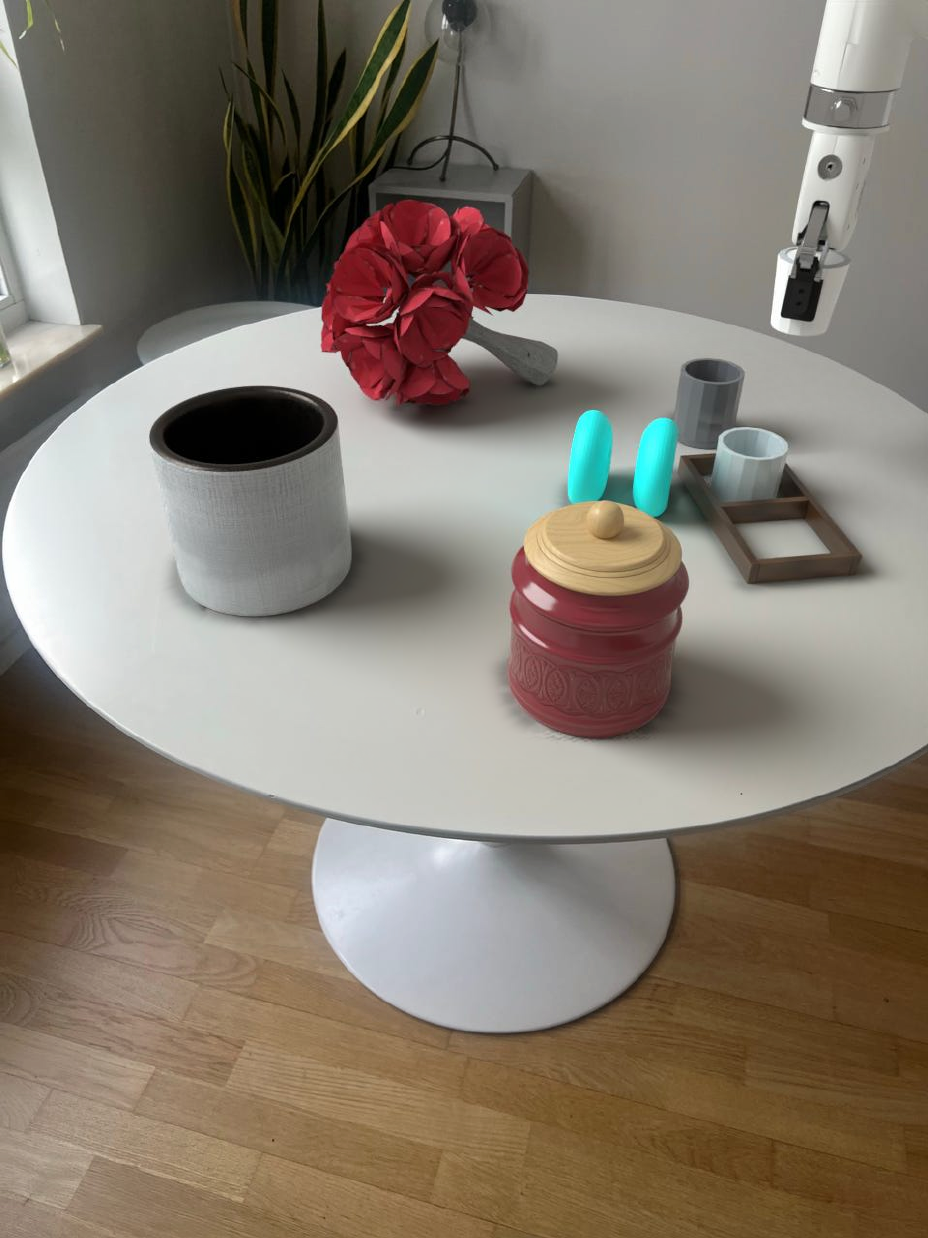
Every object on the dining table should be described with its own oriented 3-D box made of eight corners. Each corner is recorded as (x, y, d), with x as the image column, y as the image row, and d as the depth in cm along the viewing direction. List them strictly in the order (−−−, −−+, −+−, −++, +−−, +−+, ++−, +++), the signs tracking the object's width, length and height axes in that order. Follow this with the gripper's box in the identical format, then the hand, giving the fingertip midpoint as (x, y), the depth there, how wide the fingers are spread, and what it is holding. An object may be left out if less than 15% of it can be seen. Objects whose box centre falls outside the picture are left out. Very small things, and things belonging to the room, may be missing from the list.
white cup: (833, 316, 97) (850, 247, 93) (834, 341, 92) (853, 270, 88) (765, 310, 99) (779, 242, 94) (763, 334, 94) (777, 263, 89)
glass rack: (768, 473, 103) (774, 448, 101) (853, 582, 87) (862, 555, 85) (676, 480, 102) (680, 455, 100) (745, 592, 86) (751, 564, 84)
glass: (758, 483, 101) (772, 425, 97) (784, 517, 96) (799, 456, 92) (698, 488, 100) (709, 429, 96) (720, 522, 95) (733, 461, 91)
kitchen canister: (667, 647, 80) (699, 465, 69) (667, 757, 70) (705, 566, 59) (516, 631, 82) (524, 451, 71) (496, 737, 72) (501, 547, 61)
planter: (149, 609, 84) (107, 455, 74) (229, 516, 96) (203, 374, 86) (314, 639, 81) (293, 483, 71) (376, 539, 93) (366, 394, 83)
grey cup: (719, 419, 113) (731, 356, 108) (740, 446, 108) (754, 381, 103) (663, 422, 112) (673, 359, 107) (682, 450, 107) (693, 385, 102)
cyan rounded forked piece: (661, 538, 93) (676, 448, 87) (562, 524, 95) (569, 436, 89) (669, 487, 101) (683, 402, 94) (577, 476, 102) (584, 391, 96)
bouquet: (483, 394, 134) (288, 307, 120) (576, 246, 121) (370, 129, 107) (518, 479, 118) (298, 390, 104) (628, 319, 106) (396, 194, 92)
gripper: (881, 131, 76) (828, 343, 87) (903, 94, 88) (854, 284, 99) (787, 123, 78) (747, 329, 89) (821, 88, 90) (782, 274, 102)
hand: (803, 304), depth 94 cm, fingers closed on white cup, 6 cm apart
